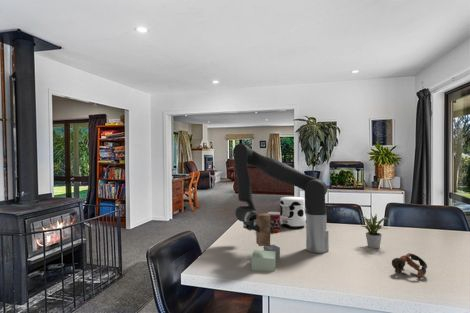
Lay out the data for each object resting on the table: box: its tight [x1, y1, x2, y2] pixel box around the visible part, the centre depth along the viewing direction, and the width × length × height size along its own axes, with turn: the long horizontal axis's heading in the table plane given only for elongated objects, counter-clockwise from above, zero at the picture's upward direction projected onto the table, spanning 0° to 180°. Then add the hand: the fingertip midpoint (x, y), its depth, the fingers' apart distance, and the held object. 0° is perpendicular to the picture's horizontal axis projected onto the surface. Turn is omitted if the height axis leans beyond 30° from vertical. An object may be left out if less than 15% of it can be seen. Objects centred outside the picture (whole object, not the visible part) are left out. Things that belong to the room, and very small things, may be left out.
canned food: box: [267, 211, 281, 234], centre depth 168 cm, size 8×8×11 cm
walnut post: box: [255, 212, 271, 247], centre depth 113 cm, size 4×4×12 cm
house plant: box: [360, 213, 388, 249], centre depth 136 cm, size 14×14×16 cm
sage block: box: [250, 249, 277, 272], centre depth 113 cm, size 9×9×5 cm
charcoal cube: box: [263, 244, 281, 261], centre depth 122 cm, size 5×5×5 cm
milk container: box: [279, 196, 306, 229], centre depth 181 cm, size 17×17×18 cm
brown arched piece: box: [391, 253, 428, 279], centre depth 105 cm, size 12×9×8 cm
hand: (265, 229), depth 111 cm, fingers closed on walnut post, 4 cm apart
